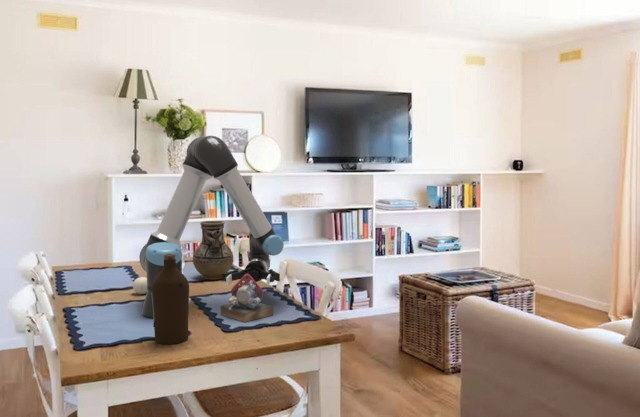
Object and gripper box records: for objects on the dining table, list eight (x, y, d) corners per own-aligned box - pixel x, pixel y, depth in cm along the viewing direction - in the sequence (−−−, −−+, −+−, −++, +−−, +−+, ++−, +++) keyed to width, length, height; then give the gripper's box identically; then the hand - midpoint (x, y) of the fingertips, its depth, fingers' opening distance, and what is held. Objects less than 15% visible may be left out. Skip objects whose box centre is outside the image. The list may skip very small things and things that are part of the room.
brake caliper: (269, 295, 200) (262, 272, 192) (261, 321, 192) (253, 297, 184) (238, 293, 203) (230, 270, 195) (229, 319, 195) (220, 296, 187)
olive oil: (195, 335, 173) (194, 252, 171) (181, 346, 163) (179, 258, 161) (162, 333, 175) (160, 251, 173) (146, 344, 165) (143, 257, 163)
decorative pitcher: (190, 274, 265) (189, 220, 263) (228, 271, 271) (228, 218, 269) (196, 284, 245) (195, 225, 243) (238, 281, 251) (237, 223, 249)
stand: (244, 322, 187) (244, 313, 187) (220, 314, 196) (220, 305, 196) (272, 315, 195) (272, 306, 195) (249, 308, 204) (249, 299, 204)
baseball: (141, 291, 232) (141, 274, 231) (155, 293, 228) (154, 276, 228) (128, 294, 226) (128, 277, 225) (142, 296, 222) (141, 279, 222)
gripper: (289, 280, 216) (284, 293, 195) (222, 279, 217) (210, 292, 196) (289, 260, 215) (284, 270, 194) (222, 260, 216) (210, 270, 195)
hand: (247, 282), depth 195 cm, fingers open, 13 cm apart
